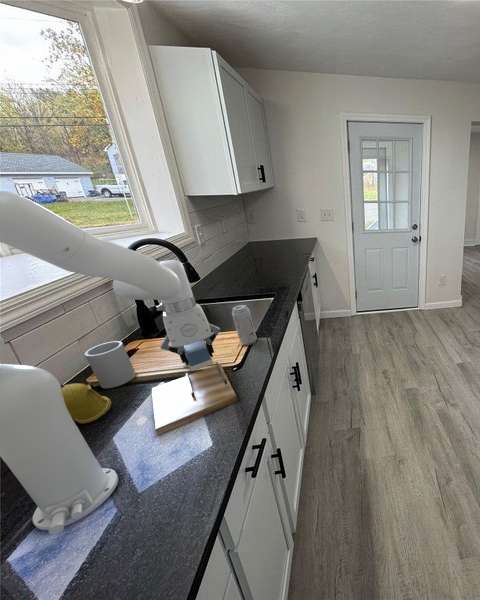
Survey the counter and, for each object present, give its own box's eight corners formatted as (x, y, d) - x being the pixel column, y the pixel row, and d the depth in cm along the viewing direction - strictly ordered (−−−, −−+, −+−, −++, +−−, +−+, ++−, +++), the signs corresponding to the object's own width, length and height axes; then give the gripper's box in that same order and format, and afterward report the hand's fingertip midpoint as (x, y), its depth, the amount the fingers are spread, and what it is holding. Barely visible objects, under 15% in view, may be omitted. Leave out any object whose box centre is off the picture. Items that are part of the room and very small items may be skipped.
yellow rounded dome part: (103, 428, 83) (77, 382, 77) (63, 439, 80) (34, 392, 74) (119, 402, 93) (97, 359, 87) (84, 411, 90) (59, 367, 84)
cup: (98, 381, 104) (82, 350, 99) (132, 368, 110) (119, 338, 105) (103, 392, 98) (86, 359, 93) (138, 377, 104) (124, 346, 100)
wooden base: (237, 401, 90) (234, 391, 89) (158, 435, 79) (153, 424, 78) (221, 368, 106) (219, 360, 105) (153, 393, 96) (149, 384, 94)
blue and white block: (213, 363, 92) (208, 348, 90) (191, 371, 89) (185, 355, 87) (206, 349, 100) (201, 335, 98) (186, 356, 97) (181, 341, 95)
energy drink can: (256, 344, 121) (247, 308, 115) (239, 347, 119) (229, 311, 114) (257, 337, 126) (248, 303, 121) (241, 340, 125) (231, 305, 119)
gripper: (142, 318, 80) (166, 377, 87) (216, 299, 89) (233, 353, 96) (141, 310, 85) (164, 365, 92) (211, 293, 95) (227, 344, 102)
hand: (199, 358), depth 94 cm, fingers closed on blue and white block, 5 cm apart
